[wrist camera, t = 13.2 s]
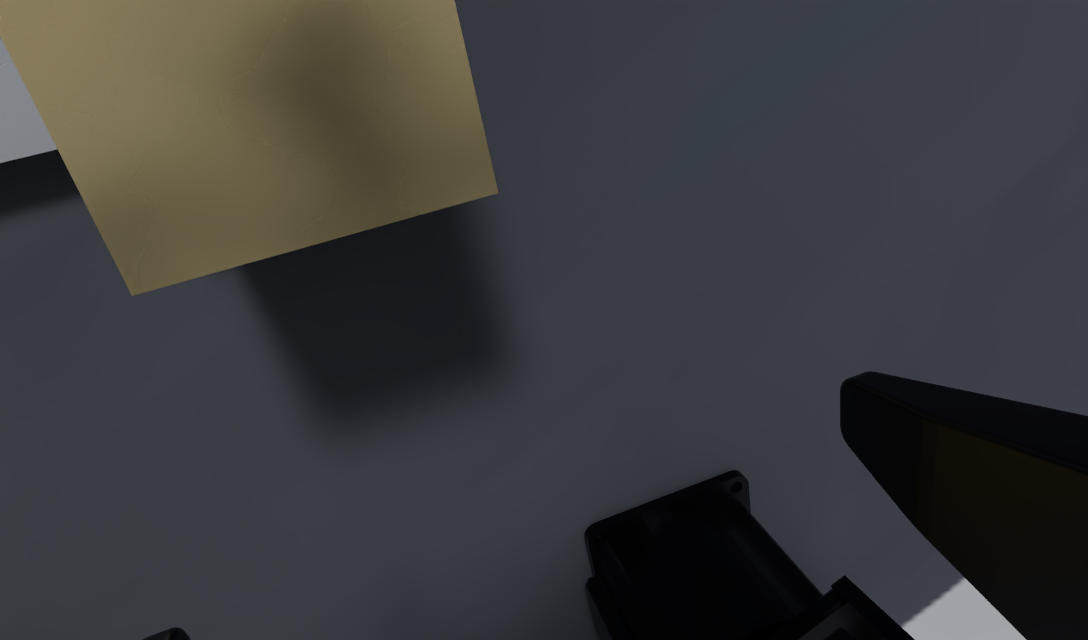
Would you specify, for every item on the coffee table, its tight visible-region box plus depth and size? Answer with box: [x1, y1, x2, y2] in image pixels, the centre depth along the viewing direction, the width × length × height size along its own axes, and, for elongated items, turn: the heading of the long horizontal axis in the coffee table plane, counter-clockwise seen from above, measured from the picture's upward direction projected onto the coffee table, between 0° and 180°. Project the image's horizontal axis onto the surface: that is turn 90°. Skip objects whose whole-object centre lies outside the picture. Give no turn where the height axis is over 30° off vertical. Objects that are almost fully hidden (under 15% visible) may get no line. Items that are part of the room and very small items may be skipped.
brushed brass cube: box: [0, 0, 498, 296], centre depth 13 cm, size 6×6×6 cm
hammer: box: [0, 37, 57, 163], centre depth 14 cm, size 17×7×4 cm, turn 102°
